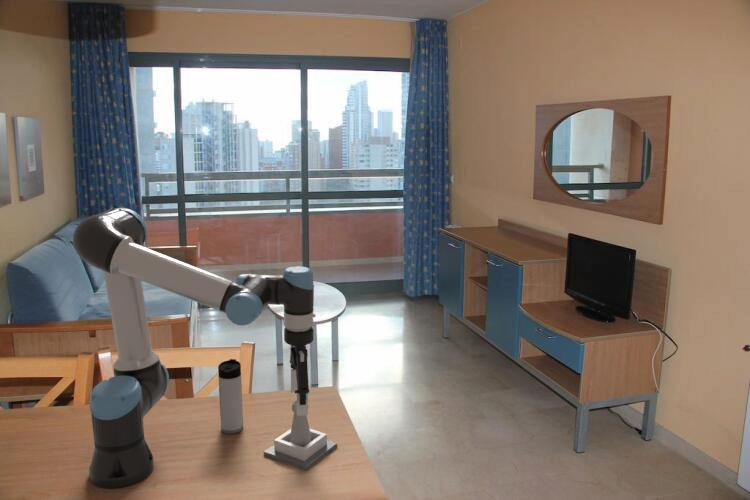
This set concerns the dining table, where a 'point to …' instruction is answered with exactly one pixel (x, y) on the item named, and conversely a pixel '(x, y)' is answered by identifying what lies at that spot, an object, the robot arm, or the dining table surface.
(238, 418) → the travel mug
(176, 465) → the dining table surface
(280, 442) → the socket
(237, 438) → the dining table surface
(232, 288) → the robot arm
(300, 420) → the grey bulb peg
